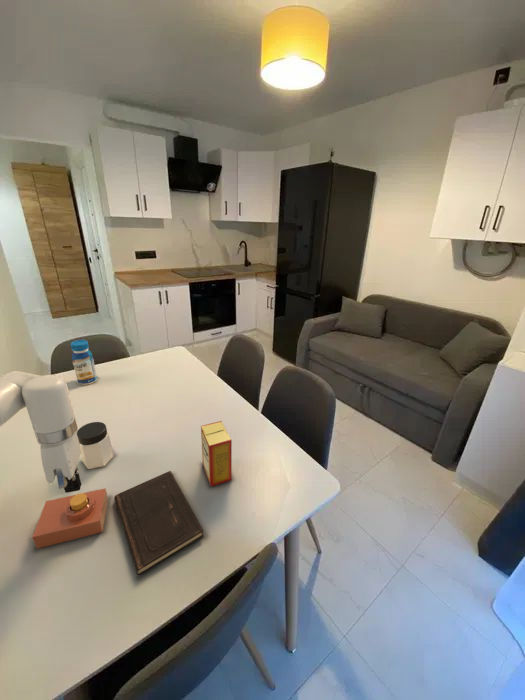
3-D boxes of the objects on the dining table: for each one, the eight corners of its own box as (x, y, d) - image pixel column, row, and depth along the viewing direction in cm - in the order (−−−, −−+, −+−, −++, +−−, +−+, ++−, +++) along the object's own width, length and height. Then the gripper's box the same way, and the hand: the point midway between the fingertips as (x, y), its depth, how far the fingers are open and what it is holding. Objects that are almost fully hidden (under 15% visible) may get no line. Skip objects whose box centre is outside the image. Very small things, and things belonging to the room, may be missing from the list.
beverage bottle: (101, 378, 142) (94, 340, 134) (88, 386, 134) (79, 347, 126) (87, 375, 143) (78, 338, 135) (73, 383, 136) (63, 344, 128)
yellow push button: (69, 512, 71) (68, 507, 71) (73, 500, 74) (71, 494, 74) (86, 509, 72) (84, 503, 72) (89, 497, 76) (87, 491, 75)
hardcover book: (171, 475, 90) (170, 470, 89) (203, 536, 73) (203, 530, 72) (115, 501, 81) (113, 495, 80) (137, 577, 64) (136, 570, 63)
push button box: (36, 548, 69) (29, 532, 66) (50, 512, 77) (44, 496, 75) (102, 532, 73) (98, 515, 71) (108, 498, 82) (104, 483, 79)
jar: (115, 447, 100) (109, 419, 95) (112, 465, 93) (105, 435, 88) (85, 453, 97) (77, 424, 92) (80, 471, 90) (71, 441, 85)
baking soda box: (231, 479, 90) (231, 439, 83) (210, 486, 87) (209, 445, 80) (222, 458, 97) (221, 419, 91) (202, 464, 95) (200, 424, 88)
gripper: (47, 412, 69) (64, 469, 76) (22, 456, 56) (45, 520, 64) (83, 407, 71) (96, 463, 79) (67, 449, 59) (84, 511, 66)
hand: (73, 488), depth 71 cm, fingers closed
